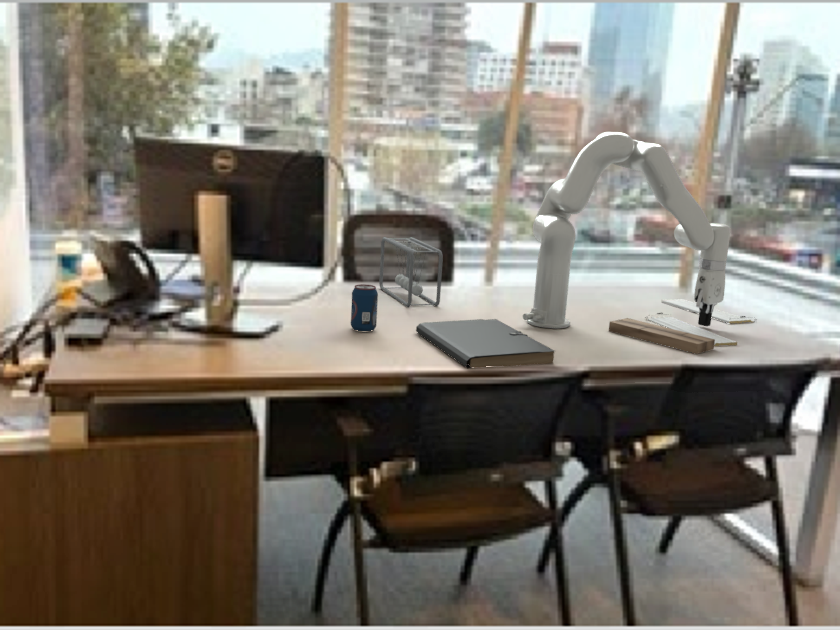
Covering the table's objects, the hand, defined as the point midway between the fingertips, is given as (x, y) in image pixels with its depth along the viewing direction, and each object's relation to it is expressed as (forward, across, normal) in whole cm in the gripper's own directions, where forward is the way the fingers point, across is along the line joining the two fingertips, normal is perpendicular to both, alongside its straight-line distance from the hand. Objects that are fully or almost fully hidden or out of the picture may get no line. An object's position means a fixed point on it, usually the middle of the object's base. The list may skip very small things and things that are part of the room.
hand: (704, 325), depth 257 cm
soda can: (+1, -91, +50) cm, 104 cm away
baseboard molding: (+2, +22, +11) cm, 25 cm away
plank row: (+1, -26, -1) cm, 26 cm away
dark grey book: (+2, -76, +20) cm, 79 cm away
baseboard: (+2, -10, 0) cm, 10 cm away
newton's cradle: (+1, -52, +76) cm, 92 cm away
